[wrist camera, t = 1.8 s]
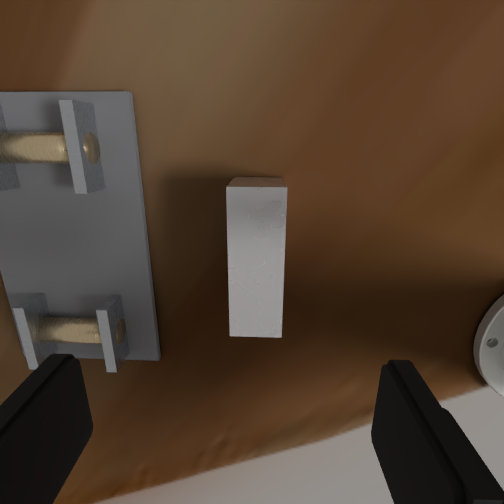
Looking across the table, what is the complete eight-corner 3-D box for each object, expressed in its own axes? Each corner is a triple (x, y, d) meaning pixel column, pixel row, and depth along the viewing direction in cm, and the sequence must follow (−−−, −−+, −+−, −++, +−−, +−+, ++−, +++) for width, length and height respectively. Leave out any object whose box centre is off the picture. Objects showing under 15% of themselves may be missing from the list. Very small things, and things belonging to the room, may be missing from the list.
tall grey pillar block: (283, 177, 23) (287, 187, 18) (279, 302, 26) (281, 337, 22) (234, 177, 23) (226, 186, 19) (236, 301, 27) (229, 336, 22)
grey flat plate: (132, 92, 22) (128, 91, 21) (160, 356, 29) (158, 360, 28) (-41, 93, 22) (-49, 92, 22) (28, 352, 29) (24, 356, 29)
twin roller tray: (93, 104, 21) (71, 99, 19) (129, 352, 28) (116, 372, 25) (-11, 104, 22) (-45, 100, 19) (49, 350, 28) (29, 369, 26)
